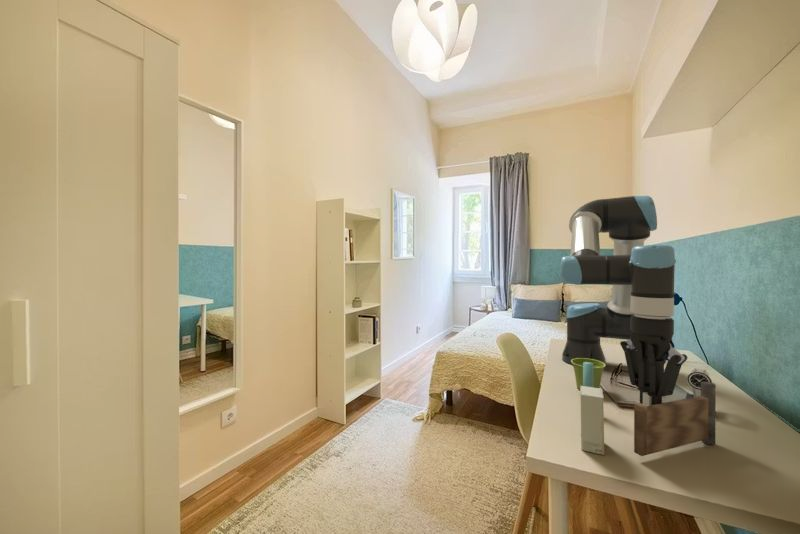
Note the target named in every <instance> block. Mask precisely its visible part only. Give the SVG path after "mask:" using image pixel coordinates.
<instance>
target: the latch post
mask: <svg viewBox="0 0 800 534" xmlns="http://www.w3.org/2000/svg"><path fill="white" fill-rule="evenodd" d="M583 386H587V387H593V363H590V362H583Z"/></svg>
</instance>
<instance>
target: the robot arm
mask: <svg viewBox="0 0 800 534" xmlns="http://www.w3.org/2000/svg"><path fill="white" fill-rule="evenodd" d="M568 228H569V229H568V230H569V231H570V233H571V240H570V242H571V243H570V254H569V255H566V256H563V257H561V259H560V276H561V277H560V278H561V281H562V282H563V283H565V284H570V285H571V284H573V285H577V286H578V285H607V286H609V285H610V286H612V297H611V298H612V299H611V300H610V301H608V302H607V304H606V305H607V306H606V307H602V306H601V304H600V303H595V302H594V303H592V302H590V303H588V302H587V303H577V304H572V305H571V304H570V305H569V306H568V307H567V309H566V317H565V318H566V342H565V346H564V349H563V351H562V354H561V359H562V361H563V362H565V363H566V364H569V365H572V366H573V364H572V363H571V360H572V359H575V358H587V359H594V360H598V361H601V362H603V363H605V365H606V360H607V359H606V356H605V353H604V351H603V348H602V345H601V338H603V339H604V338H605V339H613V340H614V339H615V340H621V341H620V343H619V344H620V346H621V349H622V350H623V353H624V357H625V362H626V366H627V370H628V371H627V372H628V376H629V381H630V384H631V385H632V386H635V387H636V388H637V390H639V403H641V404H643V405H646V406H651V405H656V404H661V403H663V397H666V396H672V395H674V390H675V388H676V383H677V382H678V378H679V375H680V371H681V368H682V365H683V364H684V363H685V362H686V361H687V360H688V356H687V354H685V353H682V354H681V353H680V352H679V351H678V350H677V349H676V348H675V344H674V342H673V336H674V333H675V332H674V331H675V330H674V329H675V320H674V318H672V317H673V316H674V314H675V268H676V266H675V265H676V263H677V261H676V259H675V258H676V257H675V248H674V247H673V246H672V245H670V244H669V245H668V244H664V245H663V244H662V245H661V244H659V245H658V244H657V245H656V244H655V245H645V241H646V240H648V239H649V238H650V237H651V231H652V232H653V231H656V230H657V229H658V215H657V210H656V205H655V201H654V200H653V197H651V196H649V195H629V196H623V197H621V196H620V197H612V198H611V197H610V198H601V199H595V200H592V201H589V202H587V203H585V204H584V205H582V206H580V207H578V208H577V210H576V211H574V213H572V215H571V217H570V219H569V224H568ZM600 233H601V234H602V233H607V234H608V238H609V239H611V240H612V241H613V254H612V255H609V254H608V255H601V246H600V245H601V244H600V235H599V234H600ZM667 356H668V357H667ZM667 359H668V361H667ZM666 362H667V363H666ZM606 366H607V365H606Z"/></svg>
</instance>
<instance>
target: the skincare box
mask: <svg viewBox="0 0 800 534" xmlns="http://www.w3.org/2000/svg"><path fill="white" fill-rule="evenodd" d="M579 390H580V391H579V393H580V394H579V396H580V397H579V398H580V400H579V401H580V432H581V433H580V436H581V437H580V439H581V441H580V444H581V450H582V451H586V452H589V453H594V454H597V455H598V454H599V455H601V456H605V426H604V425H605V424H604V423H605V422H604V421H605V420H604V419H605V417H604V413H605V412H604V393H603V389H602V388H601V387H600V388H594V387H587V386H580V389H579Z"/></svg>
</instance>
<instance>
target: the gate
mask: <svg viewBox="0 0 800 534" xmlns="http://www.w3.org/2000/svg"><path fill="white" fill-rule="evenodd" d="M713 383H714V382H712V383H710V382H701V396H696V397H691V398H686V397H685V398H681V399H677V400H672V401H665V402H662V403H661V404H656V405H651V406H646V405H643V404H641V403H640V402H637V403H634V404H633V413H634V414H633V417H634V418H633V421H634V422H633V425H634V426H633V427H634V428H633V430H634V431H633V435H634V436H633V440H634V441H633V451H634V454H637V455H638V456H640V457H645V456H648V455H649V456H650V455H652V454H655V453H659V452H663V451H667V450H671V449H675V448H679V447H683V446H687V445H690V444H694V443H698V442H702V443H704V444H706V445H707V444H708V445H712V446H713V445H716V418H717V417H716V413H717V412H716V411H717V409H716V408H717V407H716V406H717V404H716V401H717V400H716V396H717V395H716V394H717V393H716V392H717V391H716V390H717V389H716V388H717V386H716V383H714V384H713Z"/></svg>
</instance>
